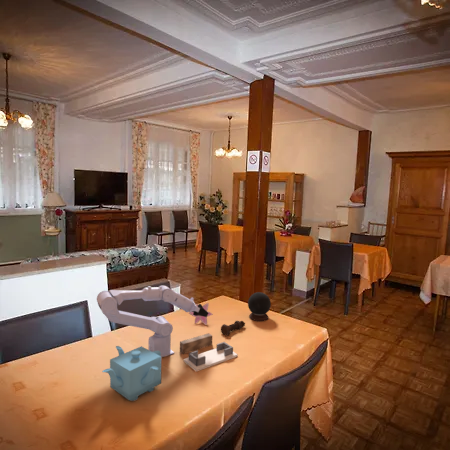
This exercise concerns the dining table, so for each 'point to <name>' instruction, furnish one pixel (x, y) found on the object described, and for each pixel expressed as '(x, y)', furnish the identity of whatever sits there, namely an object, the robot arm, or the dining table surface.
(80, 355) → the dining table surface
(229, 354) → the board
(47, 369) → the dining table surface
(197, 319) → the lily
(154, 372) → the blue cube teapot
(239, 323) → the bolt
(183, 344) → the slat
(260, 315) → the black ball on stand
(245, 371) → the dining table surface
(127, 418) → the dining table surface
